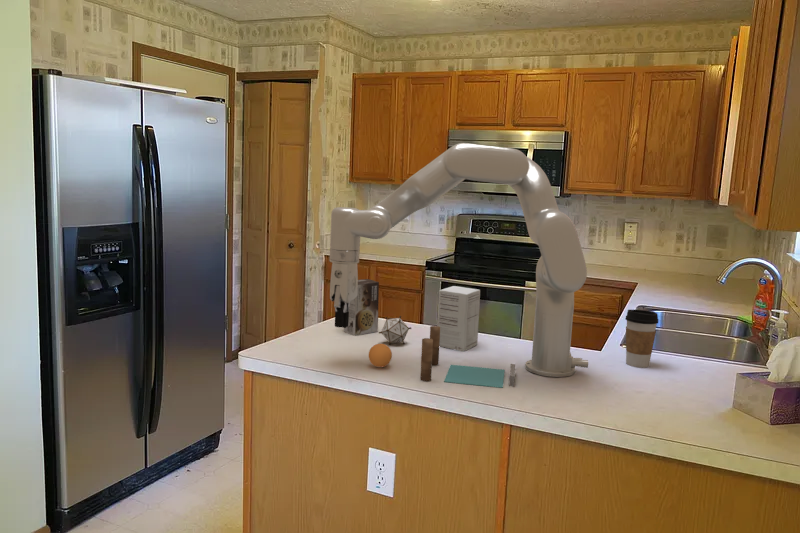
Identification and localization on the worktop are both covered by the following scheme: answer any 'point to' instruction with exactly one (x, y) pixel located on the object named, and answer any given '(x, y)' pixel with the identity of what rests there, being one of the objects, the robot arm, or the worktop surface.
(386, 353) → the ball
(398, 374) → the worktop surface
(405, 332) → the game die
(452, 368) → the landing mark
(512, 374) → the stopper strip
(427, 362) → the post near
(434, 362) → the post far
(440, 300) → the supplement box
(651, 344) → the coffee cup
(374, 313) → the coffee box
